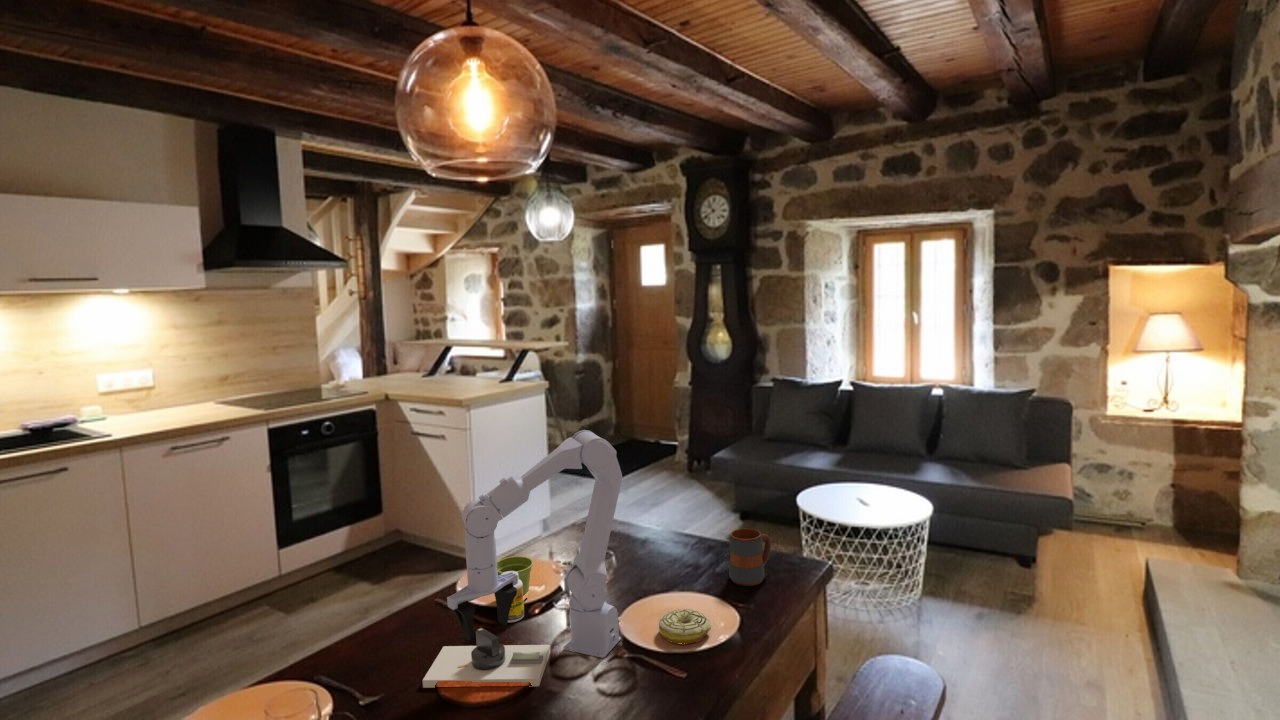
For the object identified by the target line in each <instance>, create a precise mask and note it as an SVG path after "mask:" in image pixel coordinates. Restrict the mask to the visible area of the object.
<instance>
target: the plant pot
mask: <svg viewBox="0 0 1280 720" xmlns="http://www.w3.org/2000/svg"><path fill="white" fill-rule="evenodd" d="M533 565H534V560H533V559H532V558H531V557H527V556H523V555H522V556H521V555H519V556H517V555H516V556H508V557H505V558H502V559H500V560H497V570H498V576H499V575H501V574H502V573H504V572H507V571H516V572H518V575H519V580H521V581H522V583H523V596H524V595H525V594H526V593H527V592H528V591H529V592H530V580H531V579H530V577H531V571H532V566H533Z"/></svg>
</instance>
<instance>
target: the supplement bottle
mask: <svg viewBox="0 0 1280 720" xmlns="http://www.w3.org/2000/svg"><path fill="white" fill-rule="evenodd" d="M510 572H513V573H515V574H517V578H518V584H516V585H513V587H515V588H517V594H516V596H515V598H514V600H513V602H512V605H511V608H510V612H509V616H508V622H507V624H508V623H515V622H518V621H520V620H522V619H523V618H524V617H525V604H524V602H525V601H524V600H523V583H522V581H521V580H519V575H518V572H516V571H507V572H504V573H502V574H501V575H504V574H508V573H510Z"/></svg>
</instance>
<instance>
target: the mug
mask: <svg viewBox="0 0 1280 720" xmlns="http://www.w3.org/2000/svg"><path fill="white" fill-rule="evenodd" d="M763 541H764V547H763ZM771 545H772V541H771V538H770V536H769V535H768V534H766V533H763V534H762V533H761V532H760V531H759V530H757V529H753V528H738V529H734V530H732V531H731V532H730V533H729V552H730V560H729V564H728V565H729V566H728V567H729V569H728V571H729V572H728V574H729V578H730V579H731V581H732V583H734V584H736V585H738V586H743V587H753V586H754V587H755V586H758V585H760V584H761V583H762V582H763V580H764V579H765V575H766V574H765V573H766V572H765V566H766V564H767V563H768V561H769V558H770V553H771V547H772V546H771Z"/></svg>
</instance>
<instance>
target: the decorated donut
mask: <svg viewBox="0 0 1280 720" xmlns="http://www.w3.org/2000/svg"><path fill="white" fill-rule="evenodd" d="M658 628H659V629H658V630H659V632H660V634H661V636H662V637H663V638H665V639H666V640H667V641H668V640H669V642H670V641H672V642H675V643H674V644H677V643H682V644H681V645H683V644H684V643H685V644H684V645H687V644H686V643H690V644H695V643H694V642H696V641H698V642H700V641H702V640H703V639H704V638H705V636H706V635H707V634H708V633H709V632H710V631H711V629H712V624H711V621H710V619H709V618H708V616H707V615H705V613H703V612H700V611H699V610H697V609H694V608H693V609H685V608H684V609H676V610H673V611H669V612H667V613H665V614H663V615H662V616H661V617H660V618H659V621H658ZM672 642H671V643H672ZM696 643H697V642H696Z"/></svg>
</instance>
